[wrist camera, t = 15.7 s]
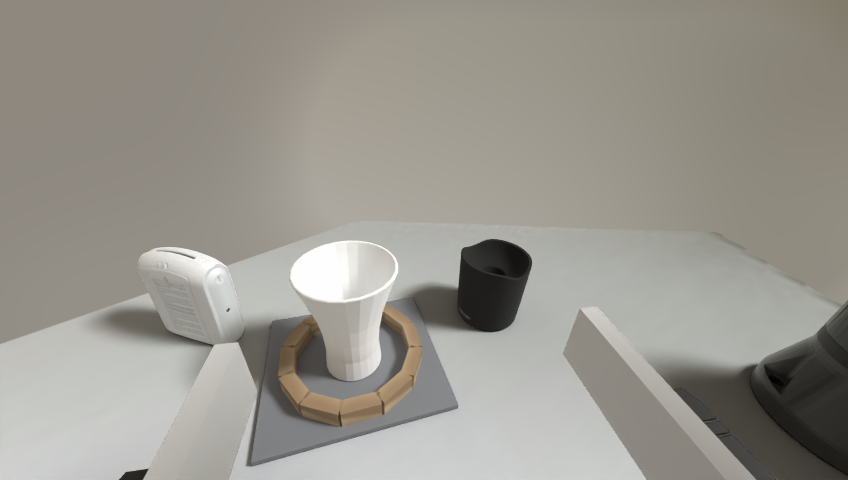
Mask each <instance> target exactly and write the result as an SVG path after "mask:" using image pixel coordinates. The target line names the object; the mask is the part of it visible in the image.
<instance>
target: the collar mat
mask: <svg viewBox="0 0 848 480" xmlns="http://www.w3.org/2000/svg"><path fill="white" fill-rule="evenodd" d="M385 305H390V307H391V306H392V307H394V308H395V309H396V310H398V311H399V312H401V313H402V314H403V315H405V316H406V317H408V318H409V319H410V320H412V322H413V323H414V326H415V328H416V331H417V333H418V336H419V339H420V341H421V344H422V359H421V362H420V366H419V369H418V373H417V376H416V380H415V383H414V387H412V390H411V391H410V392H409V393H408V394H407V395H405V396H404V397H403V398H402V399H401V400H400V401H399V402H398V403H397V404H396V405H395V406H394V407H392V408H391V409H390V410H389V411H388V412H387V413H386V414H384V413H383V412H382V416H380V417H377V418H373V419H369V420H366V421H362V422H358V423H354V424H351V425H347V426H343V427H342V422H341V424H340V427H338V426H334V425H331V424H327V423H323V422H319V421H316V420H312V419H308V418H305V417H302V415H301V416H300V414H299V413H298V411H297V410H296V409H295V407H294V406H293V405H292V403H291V402H290V401H289V399H288V398H287V396H286V395H285V394H284V392H283V391H282V389H281V385H280V382H279V378H278V372H279V362H280V353H281V347H282V345H283V344H284V342H285V341H286V340H287V339H288V337H289V336H290V335H291V334H292V332H293V331H294V330H295V328H296V327H297V326H298V325H299V323H300V322H303V320H304V319H306V318H308V317H310V316H312V315H306V316H300V317H294V318H288V319H282V320H276V321H272V326H271V332H270V339H269V345H268V352H267V358H266V365H265V372H264V378H263V385H262V391H261V398H260V405H259V411H258V418H257V424H256V431H255V438H254V444H253V451H252V457H251V465H252V466H255V465H258V464H262V463H265V462H269V461H272V460H276V459H280V458H283V457H287V456H290V455H294V454H297V453H301V452H304V451H308V450H311V449H315V448H319V447H322V446H326V445H329V444H333V443H336V442H340V441H343V440H347V439H350V438H354V437H357V436H361V435H365V434H368V433H372V432H375V431H379V430H382V429H386V428H389V427H393V426H396V425H400V424H404V423H407V422H411V421H414V420H418V419H421V418H425V417H428V416H432V415H435V414H439V413H442V412H446V411H450V410H453V409H457V408H458V403H457V401H456V398H455V396H454V393H453V391H452V389H451V386H450V384H449V382H448V379H447V377H446V374H445V372H444V370H443V367H442V365H441V362H440V360H439V358H438V355H437V353H436V351H435V348H434V346H433V343H432V341H431V339H430V336H429V334H428V332H427V329H426V327H425V324H424V322H423V320H422V317H421V315H420V313H419V310H418V308H417V305H416V303H415V301H414V298H407V299H402V300H396V301H390V302H386V304H385ZM379 343H380V349H381V361H380V364H379V366H378V367H377V368H376V370H375V371H374V372H373V373H372V374H370V375H369V376H367V377H365V378H363V379H361V380H357V381H343V380H339V379H337V378H336V377H334V376H333V375H332V374H331V373H330V372H329V370H328V368H327V362H326V347H325V343H324V339H323V335H322V333H321V332H320V333H318V334H316V335H314V336H313V337H312V338H311V340H310V341H309V342H308V344H307V345H306V347H305V348H304V349H303V351H302V352H301V354H300V355H299V356H298V358H297V376H298V378H299V379H300V380H301V381H302V382H303V384H304V385H305V386H306V387H307V389H308V390H309V391H310V392H313V393H316V394H320V395H324V396H328V397H332V398H336V399H340V400H344V399H348V398H352V397H356V396H360V395H364V394H368V393H372V392H376V391H378V390H379V389H380V388H381V387H383V386H384V385H385V384H386V383H387V382H388V381H390V380H391V379H392V378H393V377H394V376H396V375H397V374H398V373H399V372H400V371H401V370H402V367H403V364H404V361H405V358H406V355H407V349H406V346H405V343H404V340H403V337H402V336H401V335H399V334H398V333H397V332H396V331H394V330H393V329H392V328H391V327H389V326H388V325H387V324H385V323H382V322H380V327H379Z"/></svg>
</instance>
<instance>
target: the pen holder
mask: <svg viewBox="0 0 848 480" xmlns="http://www.w3.org/2000/svg"><path fill="white" fill-rule="evenodd" d="M531 267H532V259H531V257H530V255H529V254H528V253H527V252H526V251H525V250H524V249H522V248H521V247H519V246H517V245H515V244H513V243H510V242H507V241H503V240H498V239H490V240H485V241H482V242H480V243H478V244H476V245H473V246H470V247H464V248H463V249H462V251H461V263H460V275H459V288H458V304H457V307H458V311H459V314H460V315H461V317H462V318H463V319H464V320H465V321H466V322H467V323H468V324H470V325H471V326H473V327H475V328H478V329H481V330H485V331H498V330H502V329H504V328H507V327H508V326H510V325H511V324H512V323H513V321H514V319H515V317H516V314H517V311H518V308H519V305H520V302H521V299H522V295H523V292H524V289H525V286H526V283H527V280H528V276H529V273H530V270H531Z"/></svg>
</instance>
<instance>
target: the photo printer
mask: <svg viewBox="0 0 848 480" xmlns="http://www.w3.org/2000/svg"><path fill="white" fill-rule="evenodd" d="M138 271H139V274H140V276H141V278H142V280H143V282H144V284H145V286H146V288H147V290H148V292H149V294H150V296H151V298H152V301H153V303H154V305H155V307H156V309H157V311H158V313H159V315H160V317H161V319H162V321H163V323H164V325H165V327H166V328H167V329H168V330H169V331H171V332H172V333H175V334H178V335H181V336H184V337H187V338H191V339H194V340H198V341H201V342H205V343H208V344H212V345H215V344H225V343H234V342H236V341H237V340H238V339H240V337H241V336H242V335H243V333H244V328H245V327H246V326H245V321H244V318H243V314H242V311H241V308H240V305H239V301H238V298H237V295H236V292H235V288H234V285H233V282H232V279H231V276H230V273H229V270H228V268H227V267H226V266H225V265H224V264H222V263H221V262H219V261H218V260H216V259H214V258H212V257H210V256H207V255H204V254H201V253H199V252H196V251H192V250H188V249H183V248H175V247H162V248H155V249H152V250H151V251H149V252H147V253H143V254H142V255H141V257H140V259H139V261H138Z"/></svg>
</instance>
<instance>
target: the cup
mask: <svg viewBox="0 0 848 480" xmlns="http://www.w3.org/2000/svg"><path fill="white" fill-rule="evenodd" d="M397 273H398V263H397V261H396V259H395V257H394V256H393V255H392V254H391V253H390V252H389V251H388V250H387V249H385V248H383V247H381V246H379V245H376V244H373V243H369V242H362V241H341V242H334V243H330V244H326V245H322V246H320V247H317V248H315V249H312V250H310V251H309V252H307V253H305V254H304V255H302V256H301V257H300V258H299V259H298V260H297V261H296V262H295V263H294V265H293V267H292V269H291V271H290V282H291V284H292V286H293V288H294V290H295V291H296V293H297V294H298V295H299V297H300V298H301V300H302V301H303V302H304V304H305V305H306V307H307V308H308V310H309V311H310V313H311V314H312V316H313V317H314V319H315V320H316V322H317V324H318V326H319V328H320V330H321V333H322V335H323V339H324V343H325V347H326V362H327V368H328V370H329V372H330V373H331V374H332V375H333V376H334V377H336V378H337V379H339V380H343V381H357V380H361V379H363V378H365V377H367V376H369V375H370V374H372V373H373V372H374V371H375V370H376V368H377V367H378V366H379V364H380V361H381V349H380V343H379V327H380V322H381V317H382V312H383V310H384V307H385V304H386V301H387V299H388V296H389V293H390V290H391V288H392V285H393V283H394V280H395V278H396V275H397Z"/></svg>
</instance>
